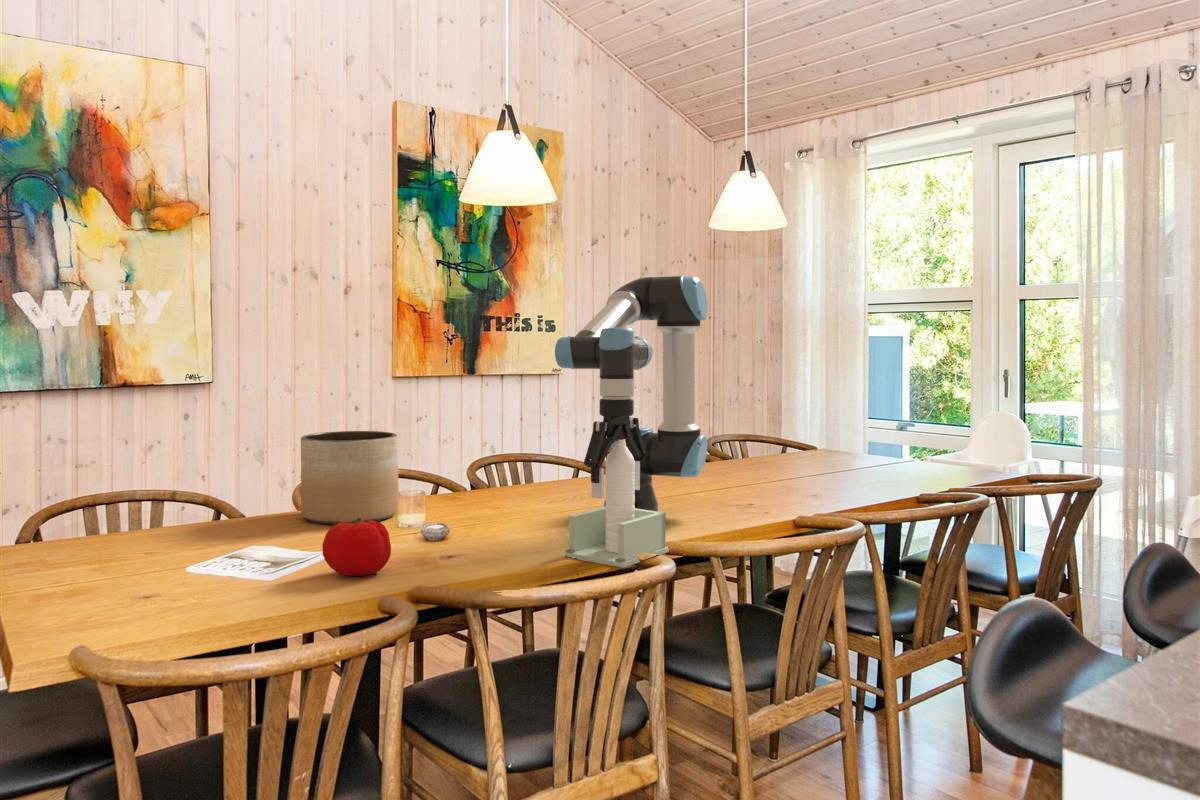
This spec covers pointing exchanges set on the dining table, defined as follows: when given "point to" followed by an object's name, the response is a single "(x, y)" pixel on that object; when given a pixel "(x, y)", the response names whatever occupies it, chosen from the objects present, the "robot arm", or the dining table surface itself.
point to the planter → (349, 476)
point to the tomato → (357, 547)
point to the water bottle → (619, 492)
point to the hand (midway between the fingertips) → (616, 493)
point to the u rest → (632, 537)
